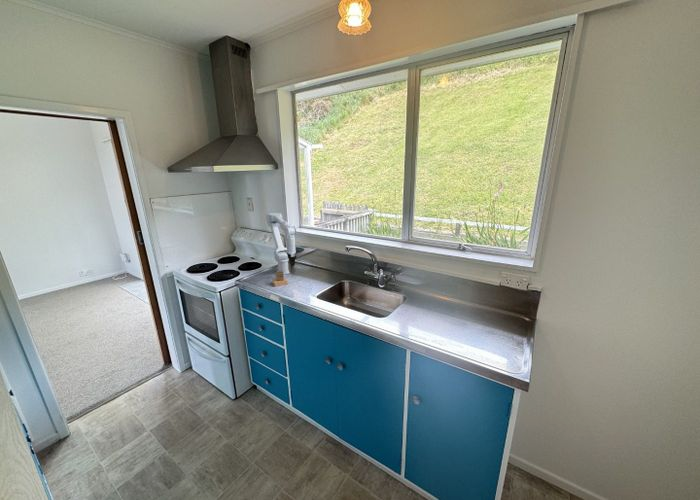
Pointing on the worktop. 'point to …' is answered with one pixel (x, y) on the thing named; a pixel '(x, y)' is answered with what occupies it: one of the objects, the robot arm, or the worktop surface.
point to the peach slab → (279, 282)
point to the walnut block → (279, 276)
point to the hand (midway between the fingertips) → (292, 264)
